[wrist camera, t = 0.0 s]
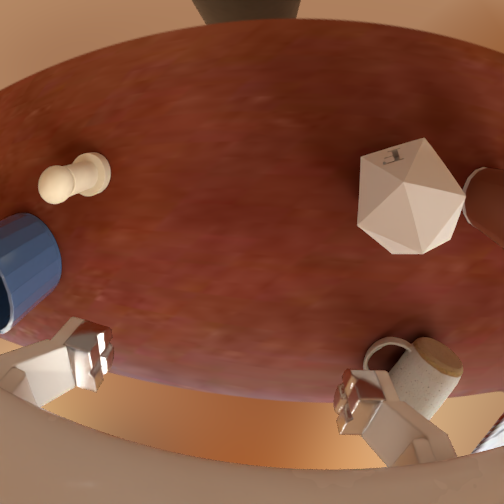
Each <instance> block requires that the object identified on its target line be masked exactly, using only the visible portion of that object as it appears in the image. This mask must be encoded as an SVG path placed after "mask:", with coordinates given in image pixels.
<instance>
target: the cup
mask: <svg viewBox="0 0 504 504" xmlns="http://www.w3.org/2000/svg"><path fill="white" fill-rule="evenodd" d="M61 270H62V263H61V256H60V251H59V248H58V245H57V243H56V240H55V238H54V236H53V235H52V233H51V231H50V230H49V229H48V227H47V226H46V225H45V224H44V223H43V222H42V221H41V220H40V219H39V218H37V217H36V216H34V215H32V214H29V213H24V212H21V213H16V214H14V215H11V216H9V217H6V218H4V219H2V220H0V334H4V333H6V332H8V331H9V330H10V329H12V328H13V327H14V326H15V325H16V324H17V323H18V322H19V321H20V320H21V319H22V318H23V317H24V316H25V315H26V314H28V313H29V312H30V311H31V310H32V309H33V308H34V307H35V306H36V305H37V304H39V303H40V302H41V301H42V300H43V299H44V298H45V297H46V296H48V295H49V294H50V293H51V292H52V291H53V290H54V289H55V287H56V286H57V284H58V283H59V280H60V277H61Z"/></svg>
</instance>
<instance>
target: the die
mask: <svg viewBox="0 0 504 504" xmlns="http://www.w3.org/2000/svg"><path fill="white" fill-rule="evenodd" d="M465 198H466V195H465V194H464V192H463V191H462V189H461V188H460V186H459V185H458V183H457V182H456V180H455V179H454V177H453V176H452V174H451V173H450V171H449V170H448V168H447V167H446V166H445V164H444V163H443V161H442V160H441V159H440V157H439V156H438V155H437V153H436V152H435V151H434V149H433V148H432V147H431V145H430V144H429V143H428V141H427V140H426V139H425V138H421V139H417V140H414V141H411V142H407V143H404V144H400V145H397V146H394V147H390V148H387V149H384V150H381V151H377V152H374V153H371V154H368V155H365V156H361V161H360V186H359V205H358V219H357V226H358V227H359V228H361V229H362V230H363V231H365V232H366V233H367V234H368V235H370V236H371V237H372V238H373V239H375V240H376V241H377V242H378V243H379V244H381V245H382V246H383V247H384V248H386V249H387V250H388V251H389V252H390V253H392V254H424V253H426V252H427V251H429V250H431V249H433V248H435V247H437V246H439V245H441V244H443V243H445V242H447V241H448V240H450V239H451V237H452V234H453V232H454V229H455V226H456V224H457V221H458V218H459V216H460V213H461V210H462V207H463V204H464V201H465Z"/></svg>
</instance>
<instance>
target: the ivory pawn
mask: <svg viewBox="0 0 504 504" xmlns="http://www.w3.org/2000/svg"><path fill="white" fill-rule="evenodd" d="M110 177H111V169H110V165H109V163H108V161H107V159H106V158H105V157H104V156H103V155H101V154H99V153H96V152H90V153H84V154H81V155H79V156H78V157H77V158H76V159H75V160H74V162H73V163H72V164H69V165H65V166H59V165H55V166H51V167H49V168H47V169H46V170H45V171H44V172H43V173H42V174H41V176H40V179H39V182H38V190H39V193H40V195H41V197H42V198H43V199H44V200H45V201H46V202H48V203H51V204H58V203H61V202H63V201H65V200H66V199H67V198H68V197H70V196H72V195H75V194H77V193H79V194H81V195H83V196H93V195H95V194H98V193H100V192H102V191H103V190H104V189H105V188H106V187H107V186H108V184H109V181H110Z"/></svg>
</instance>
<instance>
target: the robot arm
mask: <svg viewBox="0 0 504 504" xmlns="http://www.w3.org/2000/svg"><path fill="white" fill-rule="evenodd" d="M112 338H113V337H112V329H111V328H110V327H107V326H103V325H100V324H97V323H94V322H90V321H87V320H83V319H80V318H77V317H71V318H70V319H69V320H68V321H67V322H66V324H65V325H64V326H63V327H62V328H61V329H60V330H59V331H58V332H57V333H56V335H55V336H54V337H53V338H52V339H51V340H48V339H46V340H43V341H40V342H37V343H34V344H31V345H28V346H25V347H22V348H19V349H16V350H13V351H10V352H7V353H4V354H1V355H0V504H504V446H501V447H498V448H494V449H490V450H487V451H483V452H479V453H474V454H470V455H466V456H461V457H457V455H456V453H455V450H454V448H453V446H452V444H451V441H450V439H449V437H448V435H447V434H446V433H445V432H443V431H442V430H441V429H439V428H438V427H437V426H435V425H434V424H433V423H432V422H430V421H429V420H428V419H426V418H425V417H424V416H422V415H421V414H420V413H419V412H417V411H416V410H415V409H413V408H412V407H411V406H409V405H408V404H407V403H406V402H404V401H400V400H399V397H398V395H397V393H396V390H395V388H394V386H393V383H392V381H391V379H390V376H389V374H388V372H387V371H385V370H358V369H346V370H345V372H344V374H343V376H342V380H343V383H342V384H340V385H339V386H338V387H337V389H336V392H335V395H334V410H335V412H336V413H337V414H338V415H339V416H338V418H337V426H338V431H339V434H342V435H362V437H363V439H364V440H365V441H366V442H367V444H368V445H369V446H370V447H371V448H372V449H373V450H374V452H375V453H376V454H377V455H378V456H379V457H380V459H381V460H382V461H383V462H384V463H385V464H386V465H387V467H384V468H369V469H343V470H317V469H316V470H315V469H314V470H313V469H290V468H276V467H263V466H254V465H245V464H238V463H230V462H223V461H217V460H211V459H205V458H199V457H195V456H190V455H185V454H180V453H175V452H171V451H167V450H162V449H158V448H155V447H151V446H147V445H143V444H139V443H136V442H132V441H129V440H125V439H123V438H119V437H116V436H113V435H110V434H107V433H104V432H101V431H98V430H95V429H92V428H90V427H87V426H84V425H81V424H79V423H76V422H73V421H71V420H69V419H66V418H64V417H61V416H59V415H57V414H54V413H52V412H50V411H47V410H45V409H43V408H41V407H42V406H43V405H45V404H47V403H48V402H50V401H52V400H54V399H55V398H57V397H59V396H60V395H62V394H64V393H66V392H67V391H69V390H71V389H73V388H74V387H75V386H78V387H80V388H83V389H87V390H90V391H93V392H97V390H98V389H99V387H100V385H101V384H102V382H103V374H104V373H107V372H109V370H110V368H111V366H112V363H113V359H114V347H113V346H112V345H111V343H110V341H111V339H112Z"/></svg>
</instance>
